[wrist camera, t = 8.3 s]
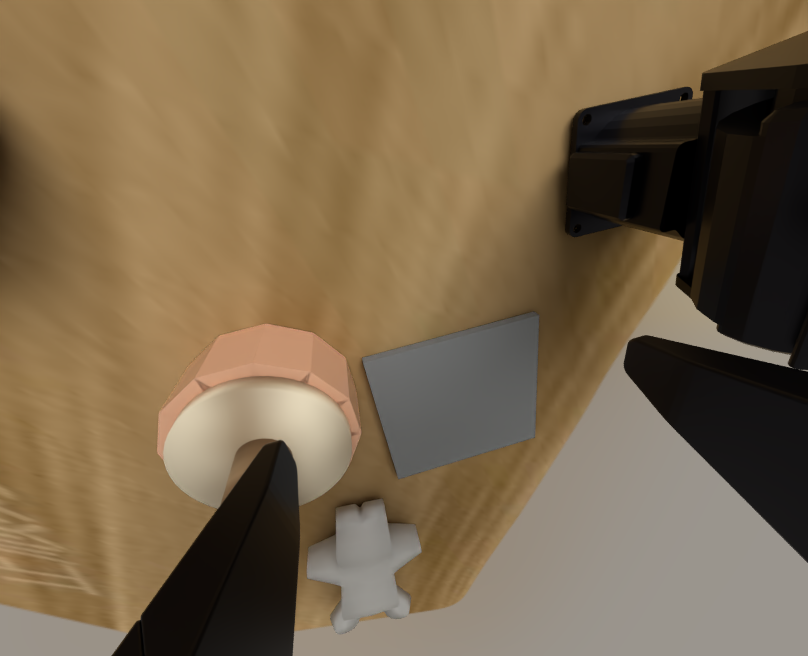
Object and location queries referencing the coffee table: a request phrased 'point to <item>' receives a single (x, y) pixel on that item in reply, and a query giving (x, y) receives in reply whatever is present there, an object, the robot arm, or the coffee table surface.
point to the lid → (257, 436)
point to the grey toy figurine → (364, 563)
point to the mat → (457, 393)
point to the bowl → (265, 370)
